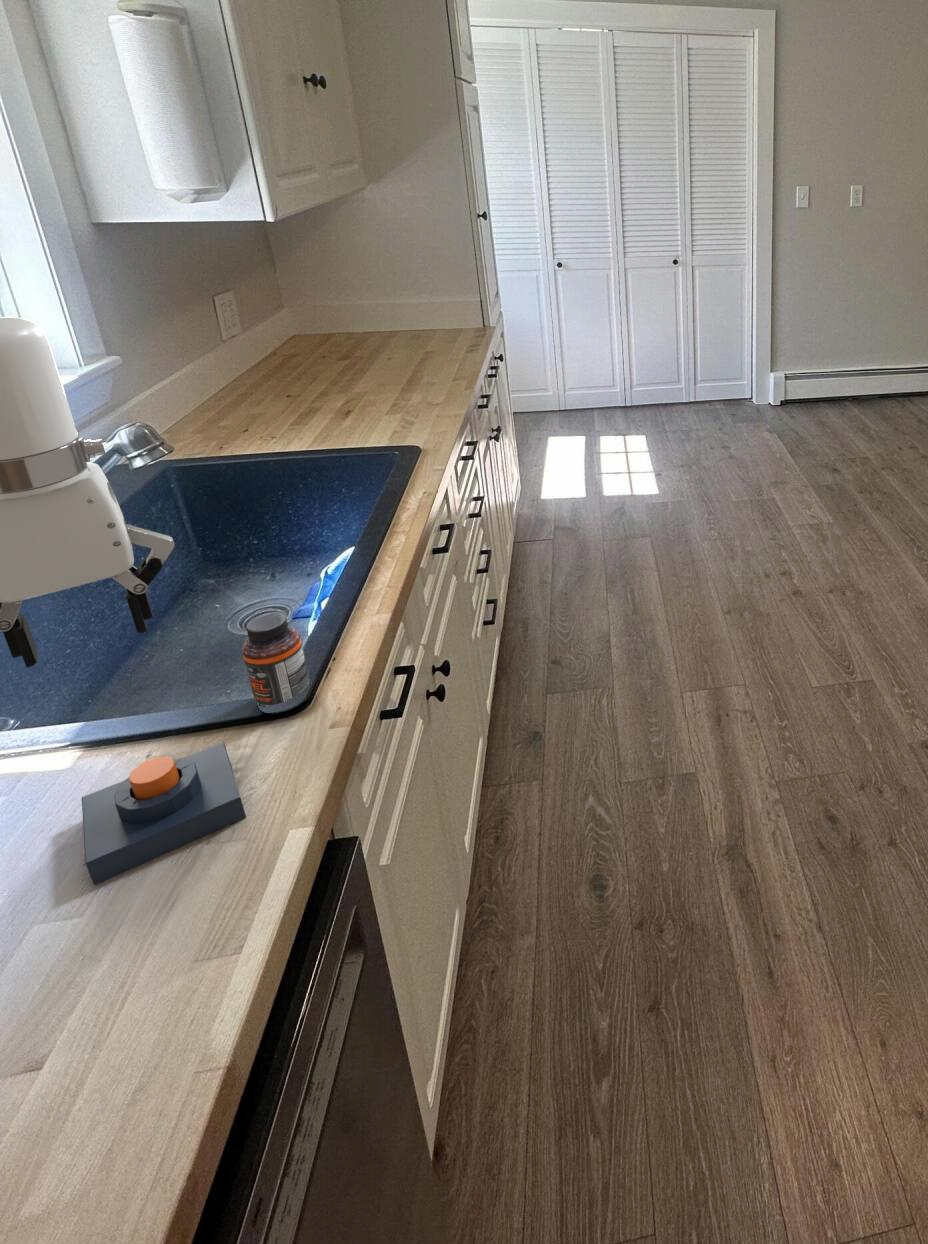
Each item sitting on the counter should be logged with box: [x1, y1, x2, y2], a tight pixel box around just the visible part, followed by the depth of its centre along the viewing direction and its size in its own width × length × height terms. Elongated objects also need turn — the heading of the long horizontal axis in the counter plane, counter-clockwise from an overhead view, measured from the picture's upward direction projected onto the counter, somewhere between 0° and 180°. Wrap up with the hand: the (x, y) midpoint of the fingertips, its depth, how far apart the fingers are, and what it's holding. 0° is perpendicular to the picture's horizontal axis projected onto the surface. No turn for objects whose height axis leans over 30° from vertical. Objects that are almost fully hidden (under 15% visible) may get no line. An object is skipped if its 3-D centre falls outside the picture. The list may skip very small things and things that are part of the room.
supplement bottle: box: [241, 611, 311, 707], centre depth 93 cm, size 6×6×11 cm
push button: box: [128, 755, 179, 800], centre depth 77 cm, size 4×4×2 cm
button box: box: [81, 741, 247, 886], centre depth 78 cm, size 12×10×4 cm
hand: (88, 641), depth 73 cm, fingers open, 7 cm apart
